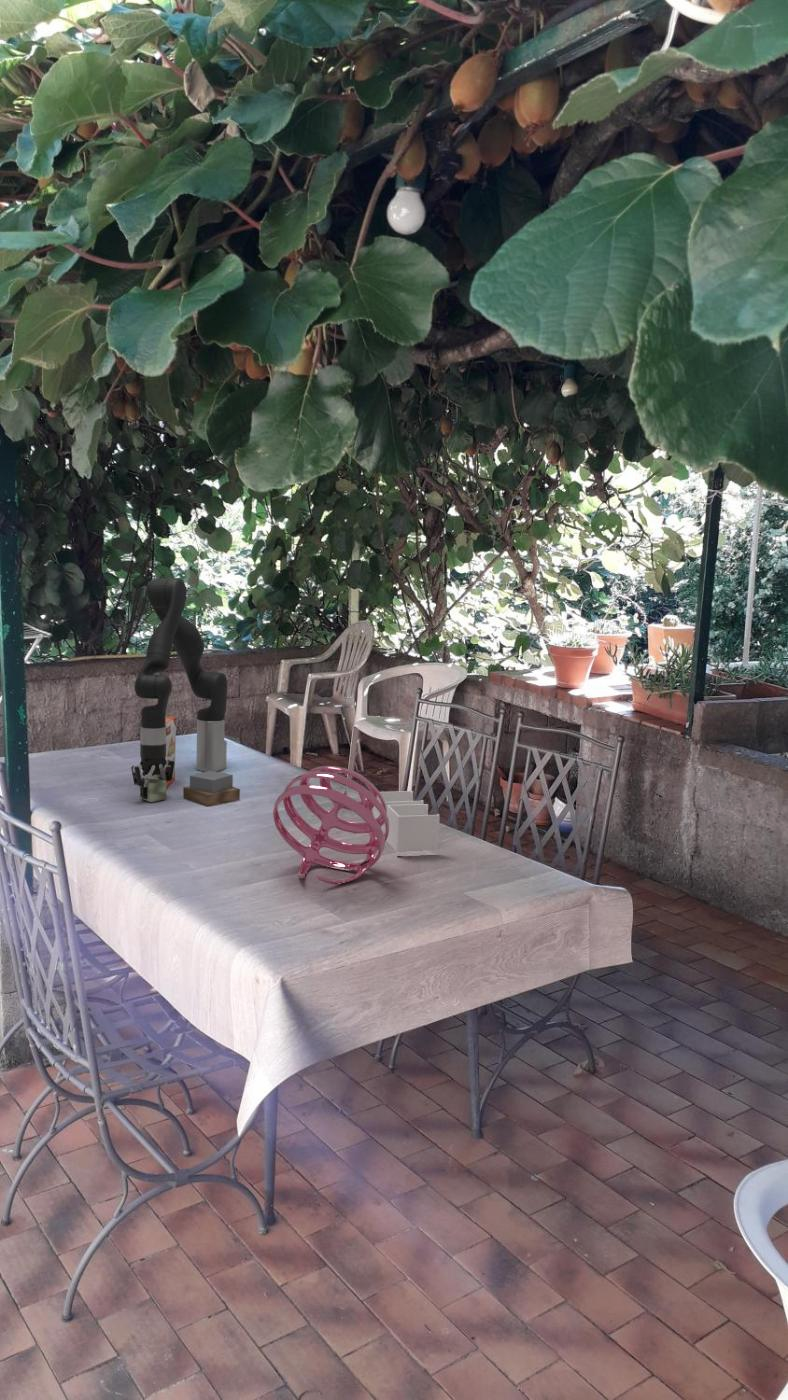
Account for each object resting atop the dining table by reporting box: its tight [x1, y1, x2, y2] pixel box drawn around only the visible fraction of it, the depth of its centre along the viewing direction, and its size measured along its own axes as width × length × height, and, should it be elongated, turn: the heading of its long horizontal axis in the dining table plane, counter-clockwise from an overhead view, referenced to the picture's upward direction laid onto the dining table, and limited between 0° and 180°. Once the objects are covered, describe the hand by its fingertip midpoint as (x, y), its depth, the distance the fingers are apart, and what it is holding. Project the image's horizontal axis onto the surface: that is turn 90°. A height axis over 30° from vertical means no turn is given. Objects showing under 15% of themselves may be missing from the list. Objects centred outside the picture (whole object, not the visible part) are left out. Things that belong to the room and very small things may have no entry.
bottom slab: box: [182, 785, 241, 808], centre depth 314 cm, size 12×12×4 cm
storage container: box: [372, 790, 441, 852], centre depth 278 cm, size 25×11×11 cm, turn 16°
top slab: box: [189, 771, 234, 793], centre depth 313 cm, size 9×9×4 cm
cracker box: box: [151, 716, 177, 789], centre depth 328 cm, size 14×6×21 cm, turn 179°
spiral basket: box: [272, 765, 389, 885], centre depth 247 cm, size 28×28×27 cm
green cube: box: [139, 778, 167, 803], centre depth 310 cm, size 6×6×6 cm
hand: (153, 796), depth 311 cm, fingers closed on green cube, 5 cm apart
